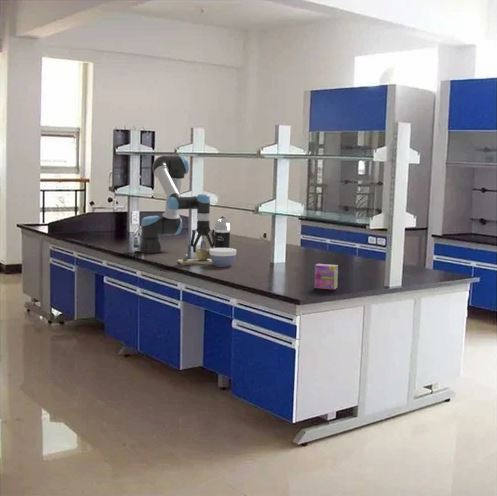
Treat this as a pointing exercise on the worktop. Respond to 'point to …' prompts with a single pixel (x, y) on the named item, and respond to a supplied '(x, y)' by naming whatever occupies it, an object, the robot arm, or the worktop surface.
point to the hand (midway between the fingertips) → (203, 257)
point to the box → (326, 276)
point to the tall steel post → (203, 247)
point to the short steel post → (185, 257)
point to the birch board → (195, 262)
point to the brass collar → (203, 254)
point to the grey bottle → (222, 233)
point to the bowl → (222, 256)
